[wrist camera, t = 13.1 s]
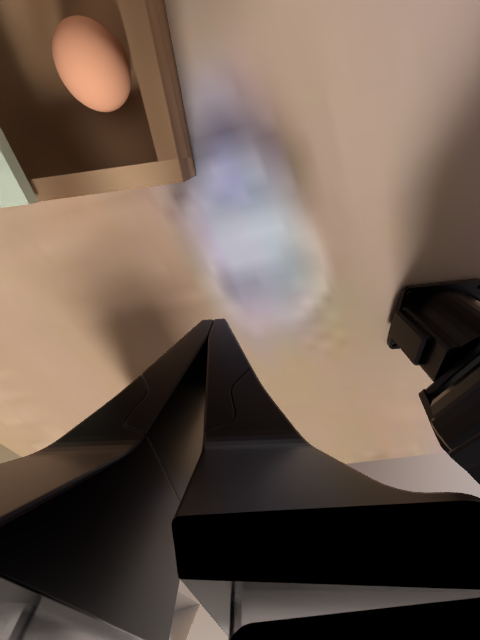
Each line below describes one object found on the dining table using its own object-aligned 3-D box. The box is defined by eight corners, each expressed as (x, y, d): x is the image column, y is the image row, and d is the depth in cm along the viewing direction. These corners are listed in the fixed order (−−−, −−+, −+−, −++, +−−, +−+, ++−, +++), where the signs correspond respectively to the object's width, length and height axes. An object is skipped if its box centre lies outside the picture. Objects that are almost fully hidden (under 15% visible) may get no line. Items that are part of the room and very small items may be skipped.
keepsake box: (147, -88, 11) (98, -215, 7) (196, 175, 16) (183, 181, 13) (-102, -36, 12) (-265, -126, 8) (24, 198, 17) (-36, 211, 13)
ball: (127, 27, 12) (95, -8, 10) (147, 111, 14) (126, 101, 11) (64, 38, 12) (17, 6, 10) (93, 119, 14) (59, 111, 12)
